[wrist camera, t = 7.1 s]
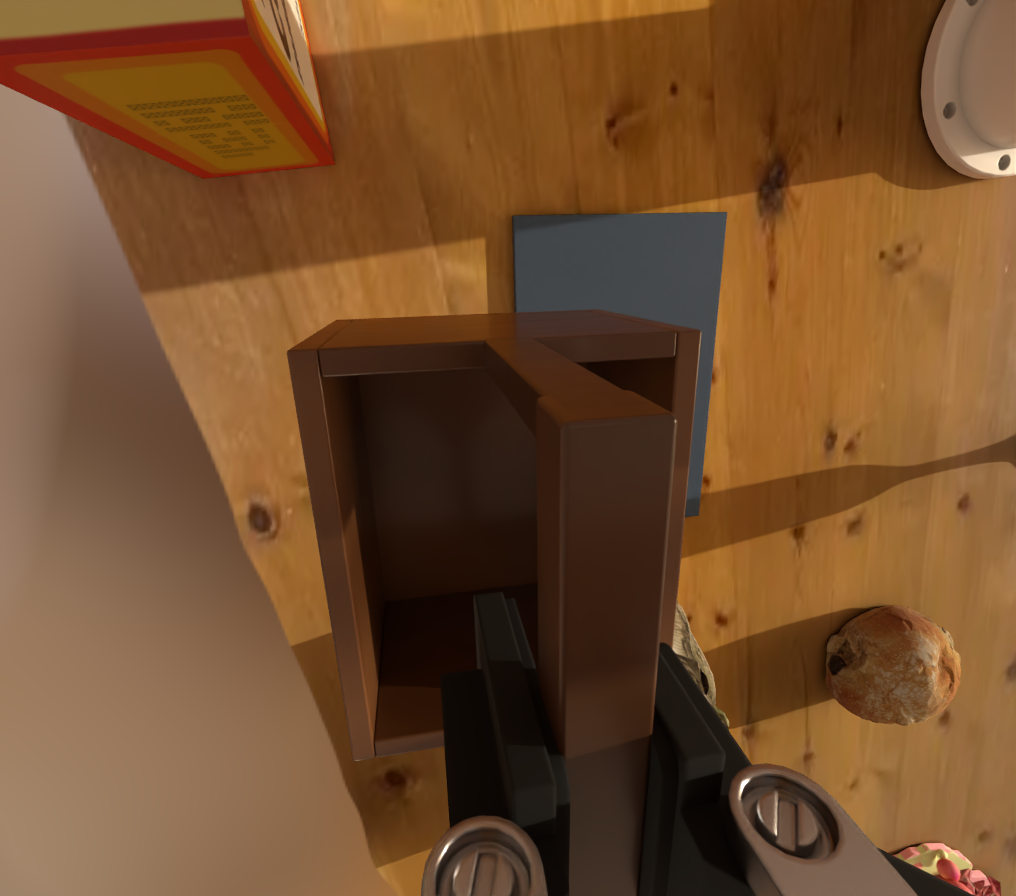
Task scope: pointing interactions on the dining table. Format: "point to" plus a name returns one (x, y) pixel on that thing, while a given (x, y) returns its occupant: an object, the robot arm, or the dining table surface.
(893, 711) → the bread roll
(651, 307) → the placemat
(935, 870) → the candy landscape model
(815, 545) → the dining table surface
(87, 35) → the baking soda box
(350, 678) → the basket
